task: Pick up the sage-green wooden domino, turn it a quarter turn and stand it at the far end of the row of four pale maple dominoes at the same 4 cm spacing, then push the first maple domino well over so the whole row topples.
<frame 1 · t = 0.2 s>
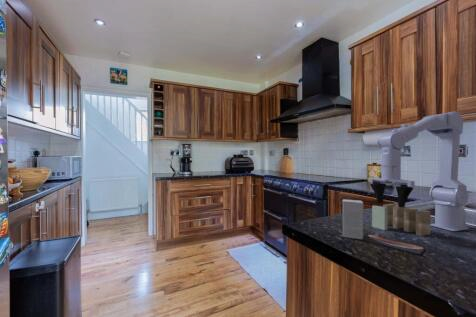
hand: (390, 204, 79), 10 cm above the counter, tool pointing down, fingers open, 7 cm apart
domino 1: (389, 224, 89), on the counter
domino 4: (423, 234, 77), on the counter
domino 2: (399, 227, 85), on the counter
brown flat slab: (391, 246, 68), on the counter
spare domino: (379, 227, 84), on the counter
skincare box: (352, 237, 74), on the counter
domino 3: (410, 230, 81), on the counter
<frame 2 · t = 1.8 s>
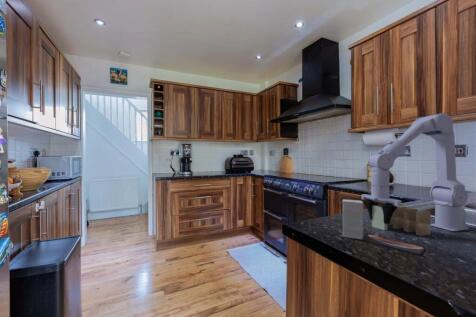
hand: (379, 221, 84), 2 cm above the counter, tool pointing down, fingers closed on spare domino, 5 cm apart
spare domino: (379, 227, 84), on the counter, touching gripper
everything else where it was.
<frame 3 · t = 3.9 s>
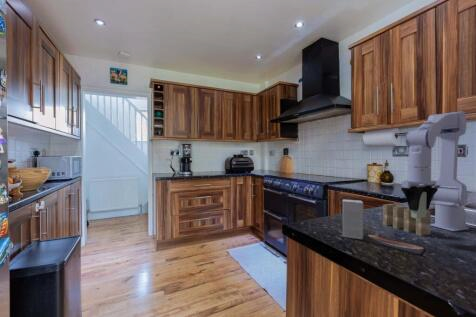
hand: (419, 209, 72), 10 cm above the counter, tool pointing down, fingers closed on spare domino, 5 cm apart
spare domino: (418, 217, 72), point 7 cm above the counter, touching gripper
everything else where it was.
when the fingers open (3 cm above the counter, at t = 6.4 s): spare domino drops 1 cm, on the counter.
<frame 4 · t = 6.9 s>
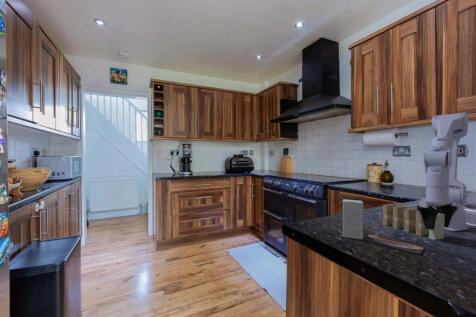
hand: (436, 227, 74), 3 cm above the counter, tool pointing down, fingers open, 7 cm apart
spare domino: (436, 238, 74), on the counter
everything else where it was.
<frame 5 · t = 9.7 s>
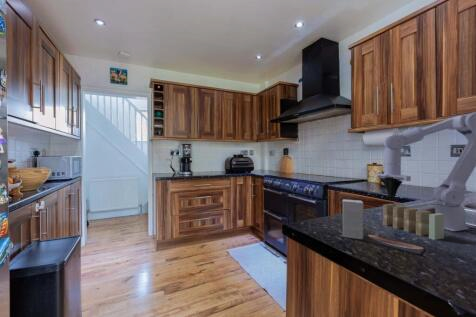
hand: (391, 196, 93), 11 cm above the counter, tool pointing down, fingers closed
nothing on the counter moved.
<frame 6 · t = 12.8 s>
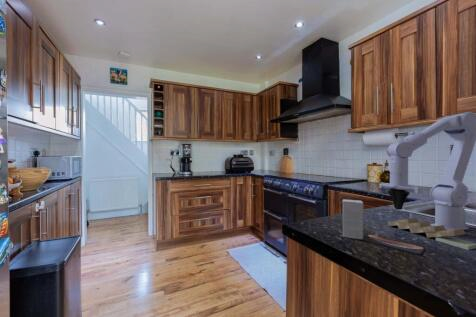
hand: (398, 209, 85), 7 cm above the counter, tool pointing down, fingers closed
domino 1: (392, 223, 87), point 1 cm above the counter, tilted 67°, touching domino 2
domino 4: (431, 234, 75), point 1 cm above the counter, tilted 67°, touching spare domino
domino 2: (403, 226, 84), point 1 cm above the counter, tilted 68°, touching domino 1
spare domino: (440, 238, 73), on the counter, tilted 90°, touching domino 4
domino 3: (415, 230, 80), point 1 cm above the counter, tilted 68°
everything else where it was.
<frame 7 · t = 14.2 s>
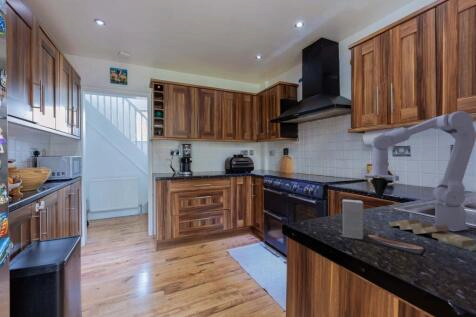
hand: (379, 196, 94), 10 cm above the counter, tool pointing down, fingers closed
domino 4: (437, 233, 73), point 2 cm above the counter, tilted 90°
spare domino: (443, 240, 72), on the counter, tilted 90°
domino 3: (418, 231, 78), point 1 cm above the counter, tilted 65°
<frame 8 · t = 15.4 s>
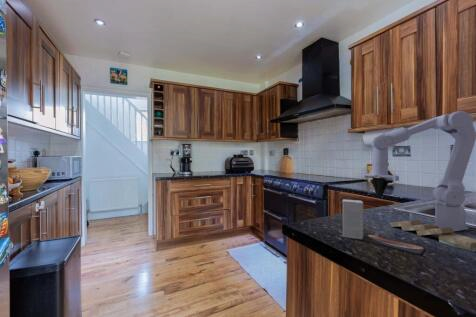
hand: (379, 196, 94), 10 cm above the counter, tool pointing down, fingers closed
domino 4: (444, 235, 71), point 2 cm above the counter, tilted 90°, touching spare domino
domino 2: (406, 227, 82), point 1 cm above the counter, tilted 70°, touching domino 1, domino 3
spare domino: (444, 240, 71), on the counter, tilted 90°, touching domino 4
domino 3: (422, 232, 77), point 1 cm above the counter, tilted 66°, touching domino 2
at the end: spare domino tilted 90°; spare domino inside the target area (0.7 cm from its centre), on the counter; domino 4 tilted 90° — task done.
